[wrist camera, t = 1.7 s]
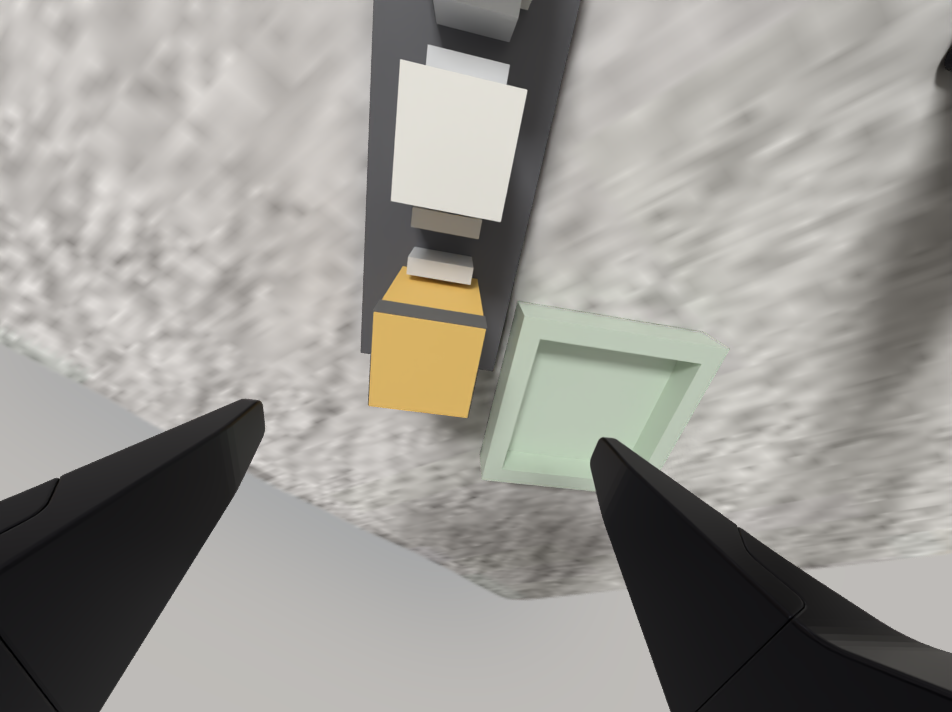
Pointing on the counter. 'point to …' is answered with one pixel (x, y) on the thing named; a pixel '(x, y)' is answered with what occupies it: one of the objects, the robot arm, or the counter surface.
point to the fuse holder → (539, 72)
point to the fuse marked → (426, 346)
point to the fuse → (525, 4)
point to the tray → (590, 393)
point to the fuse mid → (454, 141)
